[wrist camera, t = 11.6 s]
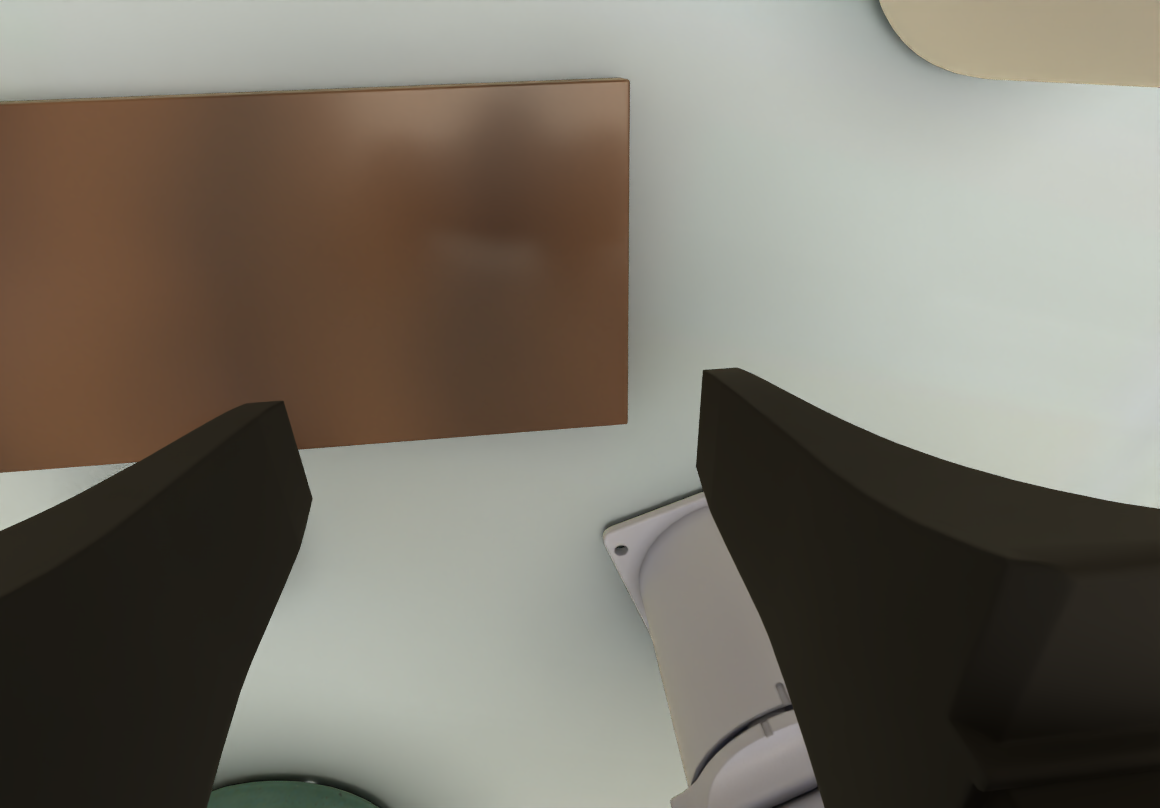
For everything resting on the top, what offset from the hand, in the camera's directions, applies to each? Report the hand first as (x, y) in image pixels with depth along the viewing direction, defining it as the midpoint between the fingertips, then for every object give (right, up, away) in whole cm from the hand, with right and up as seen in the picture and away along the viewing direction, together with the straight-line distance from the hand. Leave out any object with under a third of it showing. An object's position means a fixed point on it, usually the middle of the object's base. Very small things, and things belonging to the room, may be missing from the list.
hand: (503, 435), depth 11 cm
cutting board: (-7, +4, +8) cm, 11 cm away
